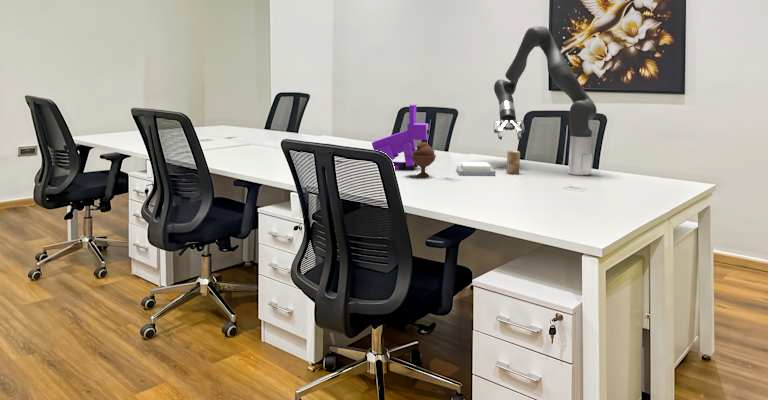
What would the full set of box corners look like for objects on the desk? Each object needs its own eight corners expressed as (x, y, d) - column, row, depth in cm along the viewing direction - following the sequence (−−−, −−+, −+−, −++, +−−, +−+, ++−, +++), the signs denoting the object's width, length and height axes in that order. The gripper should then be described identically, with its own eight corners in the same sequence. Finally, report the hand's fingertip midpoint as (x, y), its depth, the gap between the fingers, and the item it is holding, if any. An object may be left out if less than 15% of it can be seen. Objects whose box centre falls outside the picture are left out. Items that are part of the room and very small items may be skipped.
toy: (426, 171, 297) (427, 106, 291) (368, 168, 303) (368, 105, 297) (430, 166, 311) (431, 104, 305) (374, 164, 316) (374, 103, 310)
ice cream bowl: (405, 175, 283) (406, 142, 280) (423, 173, 290) (423, 140, 287) (422, 178, 275) (423, 144, 272) (440, 176, 282) (441, 142, 279)
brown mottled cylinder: (517, 172, 295) (518, 150, 293) (519, 174, 290) (520, 152, 288) (506, 172, 295) (507, 150, 293) (508, 173, 290) (509, 152, 288)
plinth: (490, 170, 300) (490, 161, 299) (495, 175, 284) (495, 166, 284) (456, 169, 300) (456, 161, 300) (459, 175, 285) (459, 166, 284)
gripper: (493, 107, 307) (496, 133, 298) (523, 107, 306) (526, 133, 297) (491, 117, 313) (493, 143, 304) (520, 118, 313) (523, 143, 304)
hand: (510, 138), depth 301 cm, fingers open, 8 cm apart
